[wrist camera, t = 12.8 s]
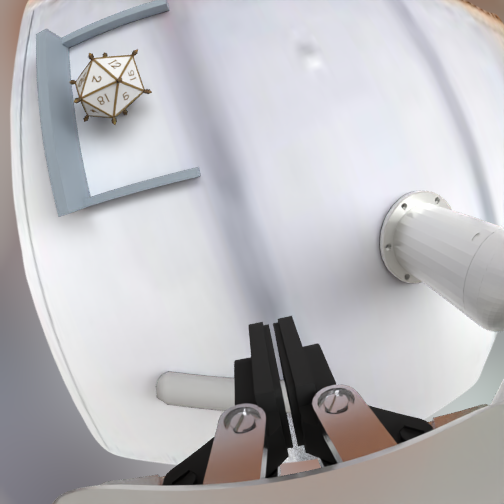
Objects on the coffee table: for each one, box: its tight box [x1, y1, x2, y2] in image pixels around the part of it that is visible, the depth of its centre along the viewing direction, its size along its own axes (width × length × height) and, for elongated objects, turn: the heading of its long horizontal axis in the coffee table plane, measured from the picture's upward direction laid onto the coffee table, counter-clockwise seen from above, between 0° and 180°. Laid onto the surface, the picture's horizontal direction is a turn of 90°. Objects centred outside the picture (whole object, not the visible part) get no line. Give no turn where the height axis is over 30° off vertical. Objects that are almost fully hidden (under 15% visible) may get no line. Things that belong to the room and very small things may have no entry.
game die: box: [69, 49, 152, 125], centre depth 26 cm, size 9×8×10 cm
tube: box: [156, 371, 291, 413], centre depth 40 cm, size 5×5×25 cm
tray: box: [36, 0, 201, 217], centre depth 28 cm, size 16×23×6 cm
